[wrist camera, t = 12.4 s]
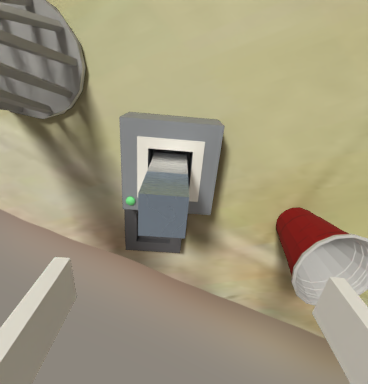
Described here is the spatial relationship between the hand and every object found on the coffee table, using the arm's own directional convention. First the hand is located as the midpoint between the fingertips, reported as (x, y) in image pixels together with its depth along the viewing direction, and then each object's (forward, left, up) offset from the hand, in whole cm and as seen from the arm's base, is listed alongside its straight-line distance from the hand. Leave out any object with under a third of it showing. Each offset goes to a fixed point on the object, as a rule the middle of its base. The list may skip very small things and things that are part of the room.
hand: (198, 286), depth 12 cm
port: (+1, -2, -23) cm, 23 cm away
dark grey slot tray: (+12, -4, -23) cm, 26 cm away
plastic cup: (+10, +19, -24) cm, 31 cm away
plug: (+1, -2, -22) cm, 22 cm away
